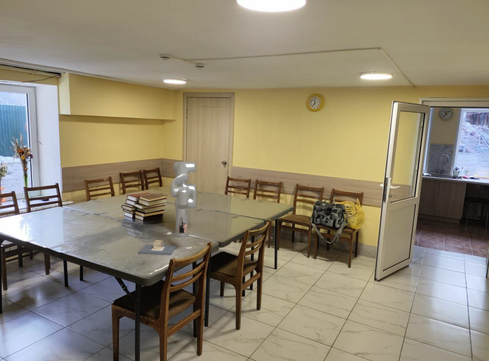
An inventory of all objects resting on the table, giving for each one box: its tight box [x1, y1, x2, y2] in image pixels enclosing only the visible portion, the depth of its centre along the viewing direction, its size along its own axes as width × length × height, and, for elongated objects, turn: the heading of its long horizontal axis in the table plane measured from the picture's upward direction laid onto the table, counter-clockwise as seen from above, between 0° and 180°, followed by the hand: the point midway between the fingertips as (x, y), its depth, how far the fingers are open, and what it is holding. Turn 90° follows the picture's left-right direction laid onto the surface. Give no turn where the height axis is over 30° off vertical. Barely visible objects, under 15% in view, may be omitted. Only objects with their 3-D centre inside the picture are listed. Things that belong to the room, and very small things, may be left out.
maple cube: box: [152, 239, 164, 250], centre depth 236 cm, size 5×5×5 cm
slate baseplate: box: [138, 243, 177, 256], centre depth 237 cm, size 15×22×2 cm
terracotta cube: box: [178, 224, 188, 233], centre depth 236 cm, size 5×5×5 cm
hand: (182, 231), depth 236 cm, fingers closed on terracotta cube, 4 cm apart
